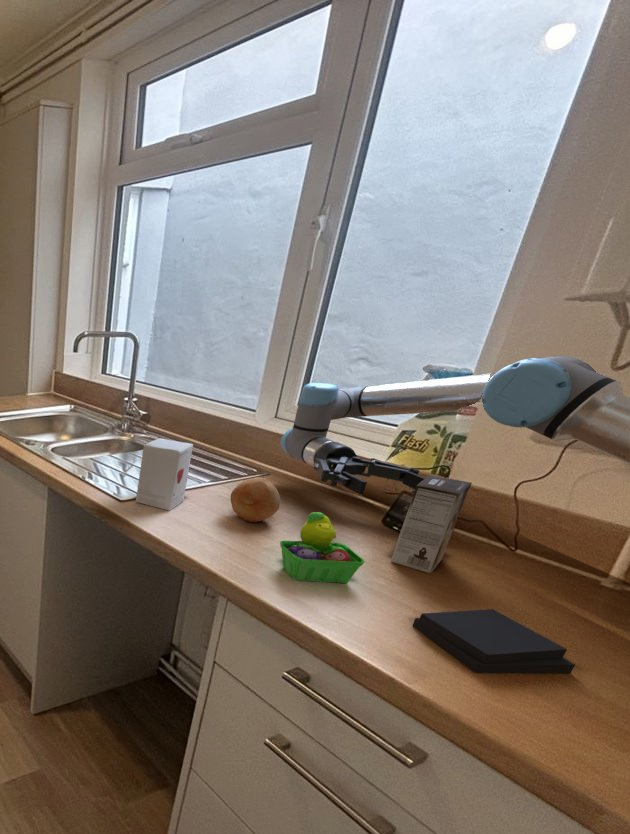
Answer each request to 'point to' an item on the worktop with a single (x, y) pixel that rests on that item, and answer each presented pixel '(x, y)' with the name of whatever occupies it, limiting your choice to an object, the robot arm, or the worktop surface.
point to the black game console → (493, 642)
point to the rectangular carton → (164, 473)
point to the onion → (255, 499)
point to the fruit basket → (319, 553)
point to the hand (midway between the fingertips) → (397, 488)
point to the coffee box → (430, 522)
